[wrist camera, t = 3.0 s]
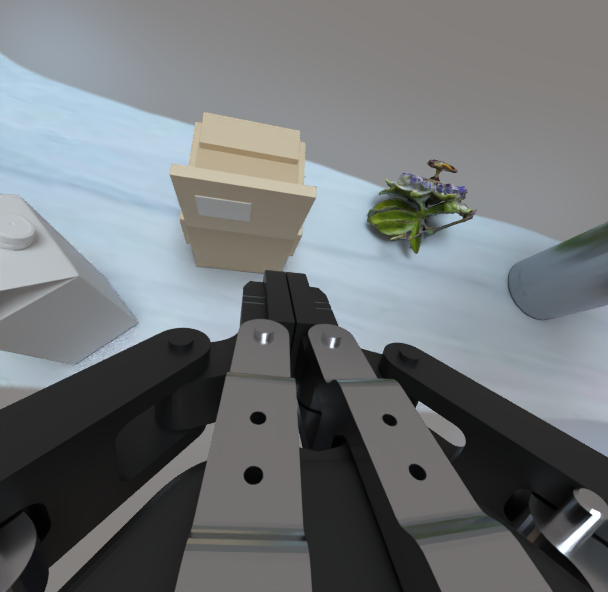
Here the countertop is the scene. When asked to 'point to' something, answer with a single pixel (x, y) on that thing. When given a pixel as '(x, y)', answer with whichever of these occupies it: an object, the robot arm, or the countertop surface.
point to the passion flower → (403, 219)
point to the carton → (250, 162)
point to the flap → (241, 202)
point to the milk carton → (51, 291)
